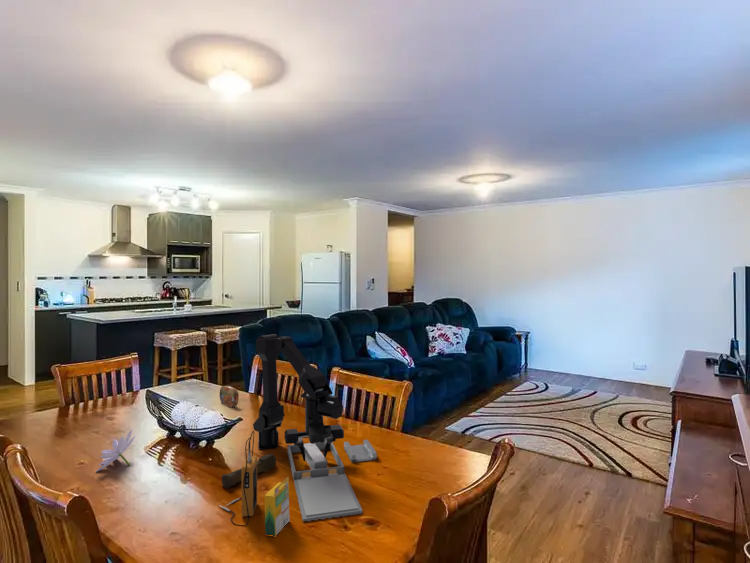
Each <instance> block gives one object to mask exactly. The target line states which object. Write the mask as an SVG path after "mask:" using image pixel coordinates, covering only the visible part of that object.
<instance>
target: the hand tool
mask: <svg viewBox="0 0 750 563" xmlns="http://www.w3.org/2000/svg"><path fill="white" fill-rule="evenodd" d="M276 465H277V461H276V456H275V455H274V454H273V453H269V454H266V455H262V456H261V457H259V458H258V460H257V475H258V474H261V473H263V474H265V473H267V472H268V471H270V470H272V469H273V468H274V467H275V466H276ZM240 482H242V475H241V468H239V469H237V470H236V469H235V470H234V471H231V472H230V473H227V474H222V475H221V484H222V486H223V487H224V488H226V489H230V488H231V487H234V486H235V485H236V484H238V483H240Z"/></svg>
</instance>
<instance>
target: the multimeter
mask: <svg viewBox="0 0 750 563" xmlns="http://www.w3.org/2000/svg"><path fill="white" fill-rule="evenodd" d="M252 436H253V437H252ZM251 441H252V449H251ZM254 444H255V430H253V431H251V434H250V437H249V438H248V439H246V442H245V444H244V445H245V449H244V450H245V452H244V453H245V459H244V462H243V463H242V466H241V468H240V469H241V475H242V481H241V497H238V498H236V499H233V500H231V501H230V502H229V503H228V504H226V506H229V505H230V504H234V503H235V502H237V501H239V500H241V517H247V522H246V524H245V525H246V526H248V524H249V522H250V517H253V516H254V514H255V510H256V507H257V504H258V474H257V461H258V456H256V455H255V456H254ZM247 445H248V453H247ZM251 450H252V451H251ZM218 506H219V507H221V508H222V510H225V511H227V512H231V513H232V514H233V515H232V516H231V517H230V521H231V523H232V522H233V523H234V524H233V523H232V524H233V525H235V522H234V521H233V518H234V516H235V514H236V513H235V512H234V511H233V510H231V509H230V508H227V507H225V506H222V505H220V504H219V505H218Z"/></svg>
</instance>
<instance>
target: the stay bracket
mask: <svg viewBox="0 0 750 563" xmlns="http://www.w3.org/2000/svg"><path fill="white" fill-rule="evenodd" d="M362 442H363V443H362V444H355V445H351V444H350V442H349V441H344V442H343V449H344V451H345V453H346V455H347V457H348V459H349V461H350V463H360V462H370V461H377V460H378V459H377V458H378V457H377V455H378V454H377V451H376V450H375V448H374V447H373V445H372V444H371V442H370V441H369V440H368V439H363V441H362Z"/></svg>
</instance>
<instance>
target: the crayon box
mask: <svg viewBox="0 0 750 563" xmlns="http://www.w3.org/2000/svg"><path fill="white" fill-rule="evenodd" d="M289 483H290V477H289V475H288V476H287V477H285V479H284V480H283V481H282V482H281V481H278V482H277V484H275V485H274V486H273V487H272V488H271V489H270V490H269V491H268V492H267V493H265V495H264V531H265V533H264V535H265V534H267V535H273V536H276V535H277V534H278V533H279V532H280V533H281V531H283V529H284V528H285V527H286V526H287V525H288V524H289V523H290V489H289V488H290V487H289V486H290V484H289ZM288 522H289V523H288ZM287 523H288V524H287ZM286 524H287V525H286ZM285 525H286V526H285ZM284 526H285V527H284ZM283 527H284V528H283ZM282 528H283V529H282ZM280 530H281V531H280ZM280 533H279V534H280ZM279 534H278V535H279ZM278 535H277V536H278ZM277 536H276V537H277Z"/></svg>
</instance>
